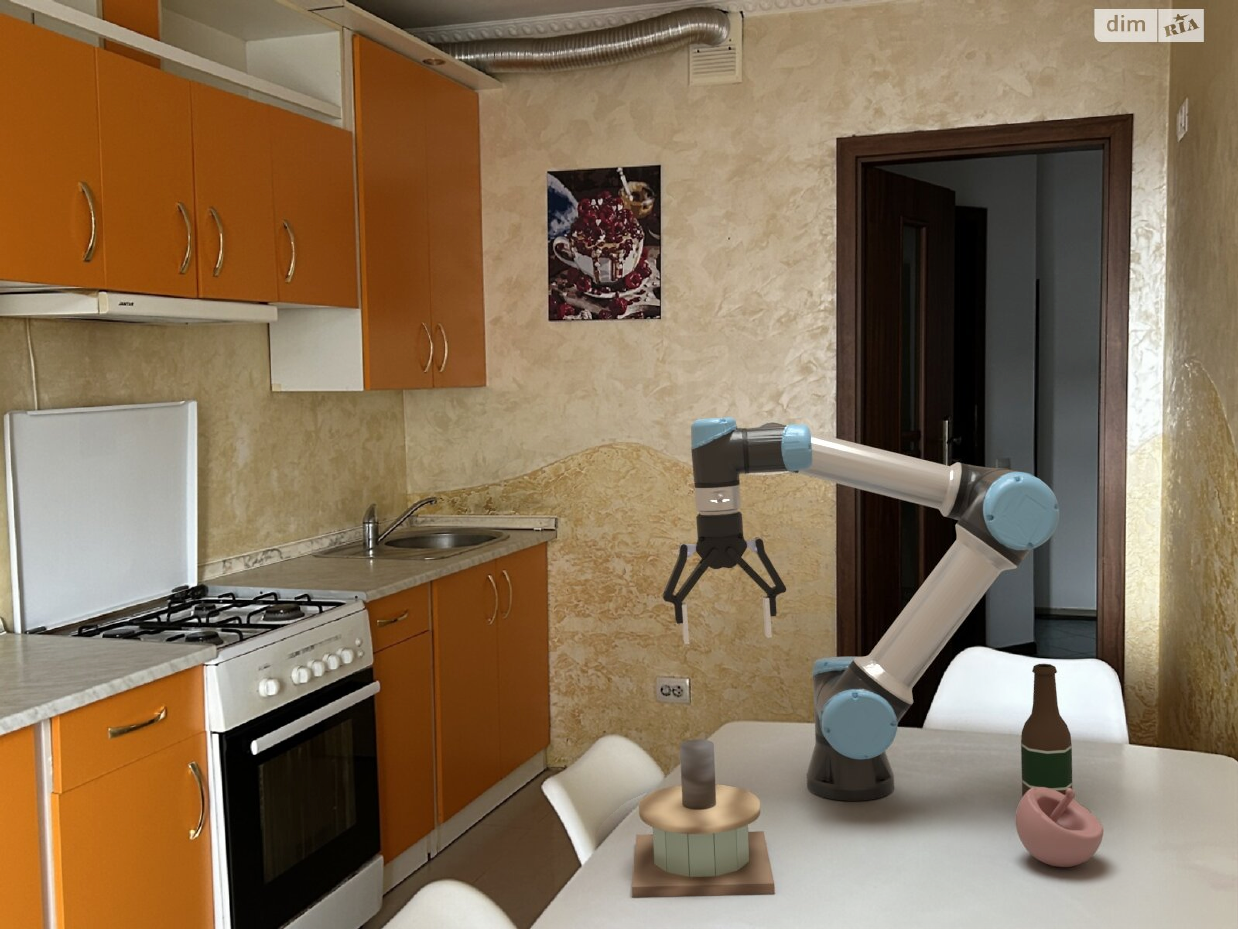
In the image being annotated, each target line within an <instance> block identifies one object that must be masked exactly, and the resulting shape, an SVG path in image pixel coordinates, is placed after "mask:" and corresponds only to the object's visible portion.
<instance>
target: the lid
mask: <svg viewBox="0 0 1238 929" xmlns="http://www.w3.org/2000/svg"><path fill="white" fill-rule="evenodd" d="M679 752H680V754H679V755H680V757H679V758H680V778H681V780H680V781H681V785H675V786H668V787H667V788H662V789H658V790H655V791H653V792H651V793H649V794H646V795H645V796H644V797H642V799H641V800H640V801H639V803H638V814H639V815H638V816H639V818H640V820H641V821H642V822H644V824H646V825H648V826H649V827H652V828H653V827H654V828H656V829H660V830H663V831H668V832H674V833H682V834H711V833H719V832H726V831H731V830H735V829H738V828H741V827H744V826H746V825H748V826H749V825H750V824H752V823H754V822H756V820H757V819H758V818H759V817H760V815H761V801H760V799H759V798H758V797H757V795H755V794H754V793H752V792H750V791H748V790H746V789H743V788H740V787H735V786H730V785H724V784H716V770H715V769H716V768H715V744H714V742H713V741H711V740H708V739H700V738H698V739H696V738H695V739H689V740H688V739H687V740H684V741H681V743H680V744H679Z"/></svg>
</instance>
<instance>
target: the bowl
mask: <svg viewBox="0 0 1238 929" xmlns="http://www.w3.org/2000/svg"><path fill="white" fill-rule="evenodd" d="M748 832H749V824H748V825H746V826H744V827H741V828H738V829H735V830H731V831H726V832H719V833H711V834H682V833H674V832H668V831H663V830H660V829H656V828H654V827H652V834H653V845H654V864H655V865H657V866H658V867H660V868H661V869H663V870H664V871H666V872H668V873H673V874H678V875H683V876H687V877H689V876H690V877H706V876H719V875H722V874H726V873H730V872H734V871H737V870H739V869H740V868H741V867H743V866H744V865H745V864H747V863H748V862H749V842H748Z"/></svg>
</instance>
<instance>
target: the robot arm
mask: <svg viewBox="0 0 1238 929" xmlns="http://www.w3.org/2000/svg"><path fill="white" fill-rule="evenodd" d="M690 435H691V436H690V438H691V439H690V440H691V444H690V445H691V446H690V449H691V461H692V462H691V463H692V476H693V485H694V487H693V488H694V504H695V506H694V507H695V511H697V512H698V514H697V515H696V521H695V522H696V531H697V532H696V534H697V541H696V542H695V543H696V544H691V543H690V544H687V543H685V542H681V543H679V545H678V557H677V560H676V562H675V564H674V567H673V569H672V571H671V574H670V576H669V579H668V581H667V584H666V586H665V588H664V591H663V593H662V599H663V600H664V602H667V603H671V604H673V605H674V606H673V607H674V619H675V622H676V624H682V639H683V642H684V645H690V634H689V621H688V620H689V619H688V606H687V602H686V601H684V600H685V599H686V598H687V596H688V595H689V593H690V592H691V590H693V588H694V587H695V585H696V584H697V583H698V581H699V580H700V579H701V577H702V576H704V575H703V574H705V573H706V571H707V570H708V569H709V568H711V569H713V570H719V569H722V568H724V569H725V568H726V569H733V568H735V566H737V565H738V566H739V567H740V568H741V569H742V571H744V572H745V573H746V574H747V575H748V577H750V578H751V580H753V581H754V582H755V583H756V585H758V586H759V588H761V590H762V591H763V592H764V593H765V594H766V595H762V596H761V598H762V614H763V625H764V626H763V627H764V628H763V629H764V636H765V638H767V639H769V638H773V636H772V622H771V620H772V619H771V617H776V616H777V601H776V600H777V597H778V595H780V594H784V593H786V592H787V587H786V585H785V584H784V582H783V580H782V578H781V576H780V575H779V574H778V571H777V569H776V568H775V566H774V564H773V563H772V561H771V560H770V557H769V556H768V555H767V552H766V550H765V544H764V541H763V539H762V538H761V537H759V536H757V537H755V538H753V539H748V540H746V539H745V537H744V524H743V513H741V511H739V510H740V509H741V508H742V498H741V496H742V495H741V486H740V484H741V480H740V475H743V474H744V475H748V474H758V473H759V474H760V473H763V474H764V473H779V472H789V473H793V474H794V473H795V474H799V475H803V476H807V477H811V478H815V479H818V480H821V481H826V482H830V483H835V484H838V485H841V486H842V485H843V486H846V487H850V488H854V489H858V490H861V491H866V492H870V493H874V494H878V495H881V496H886V497H890V498H893V499H896V500H897V499H898V500H901V501H906V502H909V503H914V504H918V505H921V506H925V507H928V508H929V507H930V508H932V509H933V508H934V509H937V510H939V511H940V514H941V515H942V516H943V517H946V518H950V519H953V520H957V522H956V524H955V525H954V526H955V533H956V540H955V541H954V542H953V544H952V545H951V546H950V547H949V549H948V550H947V551H946V553H945V554H944V555H943V557H942V558H941V559H940V561H939V562H938V563H937V565H935V567H934V569H933V570H932V571H931V573H930V574H929V575H928V576H927V578H926V579H925V580H924V582H923V583H922V585H921V586H920V587H919V588H918V590H917V591H916V592H915V593H914V595H913V596H912V598H911V599H910V601H908V603H907V604H906V606H905V607H904V608H903V610H901V612H900V614H899V615H898V616H897V617H896V618H895V620H894V621H893V623H892V624H891V625H890V626H889V628H888V629H887V631H886V632H885V633H884V634H883V636H881V638H880V640H879V641H877V644H876V645H875V646H874V648H873V649H872V650H871V652H870V653H869V654H868V655H866V656H831V657H822V658H819V659H816V660H815V661H814V663H813V666H812V667H813V669H812V673H811V677H812V680H813V705H814V706H813V707H814V733H815V734H814V735H815V737H814V738H815V739H814V740H815V742H814V747H813V750H812V754H811V758H810V760H809V761H810V762H809V764H808V769H807V772H806V787H807V790H809V791H810V792H811V793H812V794H815V795H817V796H819V797H822V798H826V799H830V800H837V801H849V802H850V801H853V802H855V801H856V802H857V801H860V802H861V801H869V800H875V799H879V798H882V797H886V796H888V795H890V794H891V793H892V792H894V789H895V774H894V772H893V769H892V766H891V764H890V761H889V758H888V755H887V752H886V751H887V750H888V749H889V747H890V746H891V745H892V744H893V742H894V740H895V738H896V735H897V732H898V725H899V722H900V721H901V719H902V718H903V717H904V716H905V714H906V713H907V711H908V710H909V709H910V707H912V705H913V703H914V699H913V698H914V697H913V692H912V691H913V687H914V686H915V685H916V684H917V682H918V681H919V680H920V678H922V676H923V675H924V673H925V672H926V670H928V668H929V666H930V665H931V664H932V663H933V661H935V659H936V657H937V656H938V655H939V653H940V652H941V651H942V650H943V649H944V647H945V646H946V644H947V643H948V642H949V641H950V639H951V638H952V637H953V636H954V634H955V633H956V632H957V630H958V629H959V628H960V626H961V625H962V624H963V623H964V621H965V620H966V618H967V617H968V616H969V615H970V613H971V612H972V610H974V608H975V607H976V605H977V604H978V603H979V602H980V600H981V599H982V598H983V596H984V595H985V594H986V593H987V591H988V589H989V588H990V587H991V586H992V585H993V583H994V582H995V580H996V579H997V578H999V575H1000V574H1001V573H1002V572H1004V571H1007V570H1013V569H1017V568H1018V567H1019V566H1020V564H1021V563H1022V561H1023V560H1024V559H1025V558H1026V556H1028V554H1029V552H1030V551H1031V550H1033V549H1036V548H1038V547H1040V546H1041V545H1043V544H1044V543H1046V542H1047V541H1048V540H1049V539H1051V537H1052V536H1053V534H1054V533H1055V532H1056V530H1057V527H1058V524H1059V520H1060V507H1059V502H1058V500H1057V497H1056V495H1055V493H1054V491H1053V490H1052V489H1051V488H1050V487H1049V486H1048V484H1046V483H1045V482H1044V481H1042V479H1040V478H1038V477H1036V476H1034V475H1033V474H1032V473H1028V472H1023V471H1017V470H1013V469H1011V468H1010V469H1009V468H1000V467H999V468H998V467H984V466H979V465H978V466H977V465H972V464H967V463H961V462H955V463H953V464H952V465H950V466H949V465H947V464H946V465H945V464H942V463H938V462H934V461H929V460H925V459H921V458H917V457H913V456H908V455H905V454H901V453H897V452H893V451H889V450H885V449H881V448H876V447H872V446H869V445H864V444H861V443H856V442H852V441H848V440H844V439H840V438H836V437H833V436H832V437H831V436H827V435H823V434H820V433H816V432H812V431H811V429H810V427H809V426H807V425H806V424H794V423H790V424H783V423H778V422H774V421H773V422H766V423H763V424H762V425H760V426H759V427H748V428H746V427H744V428H743V427H738V425H737V420H736V419H735V418H734V417H731V416H728V417H724V416H723V417H712V418H699V419H696V420H695V421H693V423H692V424H691V426H690ZM747 548H750V550H751V551H752V552H753V553H756V555H757V557H758V558H759V560H760V562H761V564H762V566H763V567H764V569H765V571H766V572H767V574H768V575H769V577H770V579H771V580H772V582H773V584H774V585H775V586H772V587H771V586H770V585H769V583H767V582H766V581H765V580H764V579H763V578H762V577H761V576H760V575H759V574H758V573H757V572H756V571H755V569H754V568H752V567H751V566H750V565H749V564H748V563H747V561H746V560H745V559H744V558H743V557H742V556H743V555H744V554H745V552H746V550H747ZM695 552H696V553H697V555H698V556H699V557H700V558H701V559H700V560H699V561H698V563H697V565H696V566H695V568H694V569H693V571H692V572H691V573H690V575H689V576H688V578H687V579H686V580H685V582H684V583H683V584H682V585H681V587H680V588H679V590H677V592H676V594H674V593H675V590H676V588H677V584H678V582H679V580H680V578H681V576H682V573H683V571H684V569H685V566H686V563H687V561H688V558H691V557H692V555H693V553H695Z"/></svg>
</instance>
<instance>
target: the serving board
mask: <svg viewBox="0 0 1238 929" xmlns="http://www.w3.org/2000/svg"><path fill="white" fill-rule="evenodd" d="M765 837H766V836H765V832H764V830H762V831H760V830H759V831H756V830H755V831H748V842H749V862H748V863H747V864H745V865H744V866H743V867H741V868H740V869H739V870H737V871H734V872H730V873H726V874H722V875H719V876H706V877H690V876H689V877H687V876H683V875H678V874H673V873H668V872H666V871H664V870H663V869H661V868H660V867H658V866H657V865H655V864H654V845H653V833H652V834H651V833H649V834H648V833H647V834H636V836H635V846H634V847H635V848H634V849H635V850H634V861H633V871H632V872H633V874H632V884H631V889H632V898H655V897H656V898H657V897H658V898H662V897H696V896H697V897H699V896H704V897H705V896H740V895H743V896H745V895H775V894H776V891H775V890H776V889H775V888H776V887H775V880H774V875H773V871H772V870H773V869H772V866H771V861H770V857H769V850H768V846H767V840H766V838H765Z"/></svg>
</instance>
